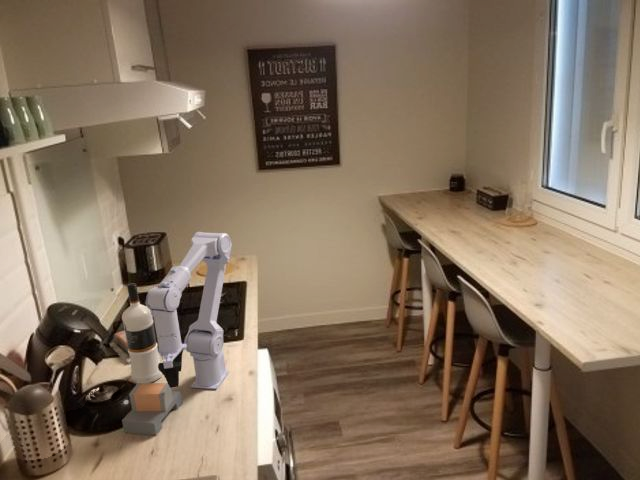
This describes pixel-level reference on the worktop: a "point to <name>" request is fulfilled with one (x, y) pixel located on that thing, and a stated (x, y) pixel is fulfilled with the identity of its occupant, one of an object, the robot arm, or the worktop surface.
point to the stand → (149, 418)
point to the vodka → (141, 340)
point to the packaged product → (121, 346)
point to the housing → (151, 397)
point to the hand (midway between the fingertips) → (175, 378)
